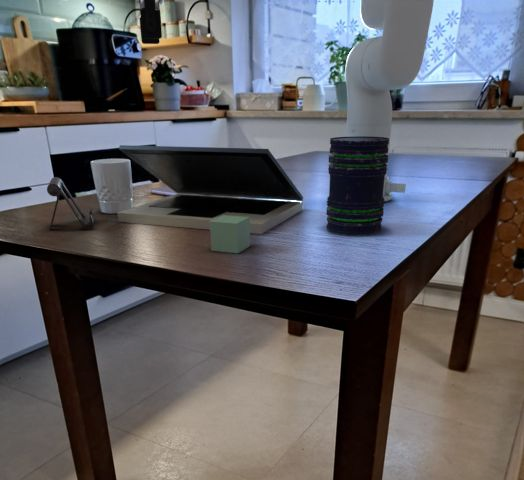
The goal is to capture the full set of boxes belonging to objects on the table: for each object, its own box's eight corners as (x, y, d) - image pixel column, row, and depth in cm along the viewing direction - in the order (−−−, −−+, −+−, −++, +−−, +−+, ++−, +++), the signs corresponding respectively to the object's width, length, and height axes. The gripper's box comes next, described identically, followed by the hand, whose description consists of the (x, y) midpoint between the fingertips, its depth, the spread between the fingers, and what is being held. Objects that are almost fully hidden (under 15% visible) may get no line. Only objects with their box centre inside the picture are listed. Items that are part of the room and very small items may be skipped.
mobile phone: (170, 184, 133) (211, 190, 125) (170, 188, 134) (211, 194, 125) (147, 188, 128) (188, 194, 120) (147, 192, 129) (188, 199, 120)
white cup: (95, 209, 111) (88, 160, 107) (132, 205, 114) (126, 157, 110) (100, 215, 105) (92, 164, 100) (139, 212, 108) (133, 161, 103)
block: (250, 246, 82) (249, 217, 80) (238, 253, 79) (237, 223, 77) (224, 243, 84) (223, 215, 82) (211, 250, 80) (209, 221, 78)
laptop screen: (267, 153, 86) (268, 148, 86) (118, 149, 96) (119, 145, 96) (302, 201, 106) (303, 197, 107) (177, 193, 117) (177, 189, 117)
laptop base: (261, 234, 89) (261, 223, 88) (118, 221, 100) (117, 211, 99) (302, 210, 107) (302, 200, 106) (177, 201, 118) (176, 193, 117)
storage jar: (319, 233, 89) (322, 140, 82) (332, 221, 97) (336, 136, 91) (377, 237, 86) (385, 141, 79) (385, 224, 94) (394, 136, 88)
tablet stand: (94, 229, 94) (86, 181, 90) (48, 233, 92) (38, 184, 88) (94, 219, 102) (87, 175, 98) (51, 222, 100) (42, 177, 96)
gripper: (167, -100, 76) (176, 36, 83) (161, -67, 91) (170, 45, 99) (114, -103, 75) (129, 35, 82) (118, -69, 90) (130, 45, 97)
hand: (151, 41), depth 90 cm, fingers open, 9 cm apart
